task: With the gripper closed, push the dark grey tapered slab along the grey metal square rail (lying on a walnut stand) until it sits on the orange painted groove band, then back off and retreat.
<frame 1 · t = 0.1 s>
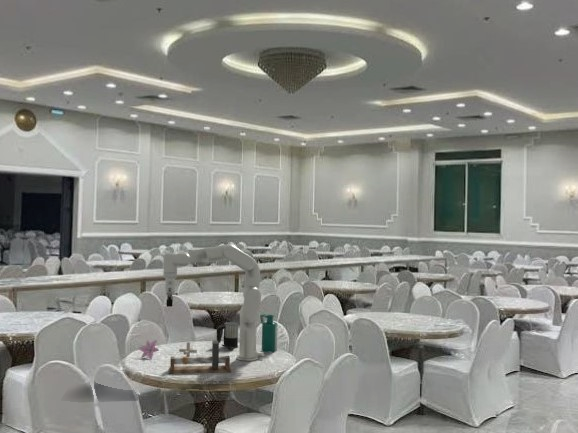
hand: (169, 305, 347), 31 cm above the table, fingers open, 9 cm apart
milk frother: (229, 348, 381), on the table
dark grey tapered slab: (215, 354, 328), point 8 cm above the table, slide at 0.0 cm
lily: (149, 357, 353), on the table
teal bottle: (268, 350, 377), on the table
pipe connector: (187, 360, 349), on the table
pipe stand: (199, 370, 326), on the table
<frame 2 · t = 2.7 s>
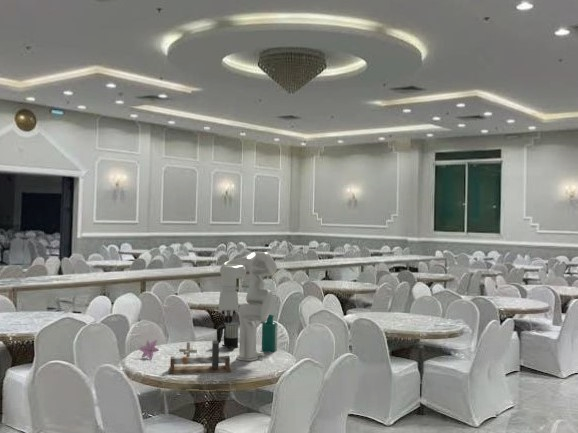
hand: (228, 323, 329), 25 cm above the table, fingers closed
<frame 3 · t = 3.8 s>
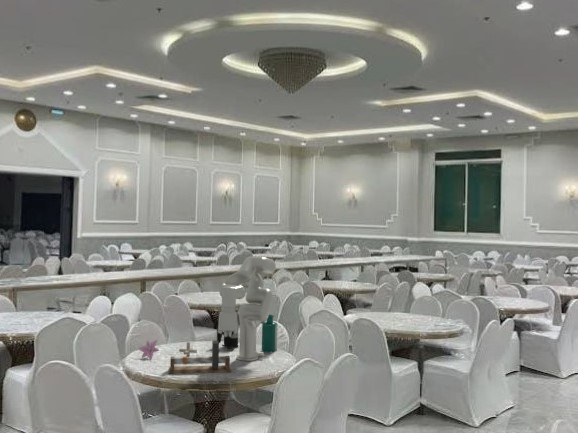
hand: (227, 344, 328), 14 cm above the table, fingers closed
nothing on the table moved.
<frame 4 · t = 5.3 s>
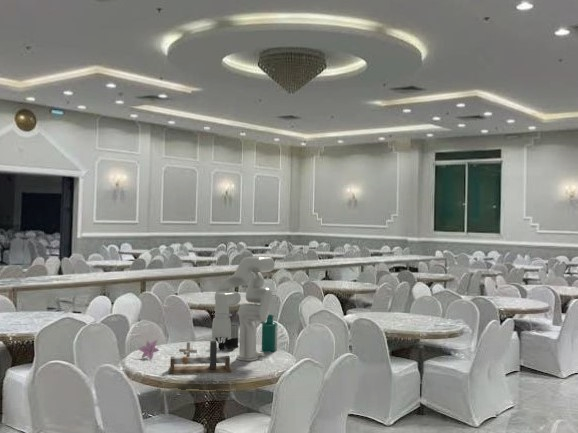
hand: (221, 350, 328), 11 cm above the table, fingers closed
dark grey tapered slab: (213, 354, 327), point 8 cm above the table, slide at 1.2 cm, touching gripper
everything else where it was.
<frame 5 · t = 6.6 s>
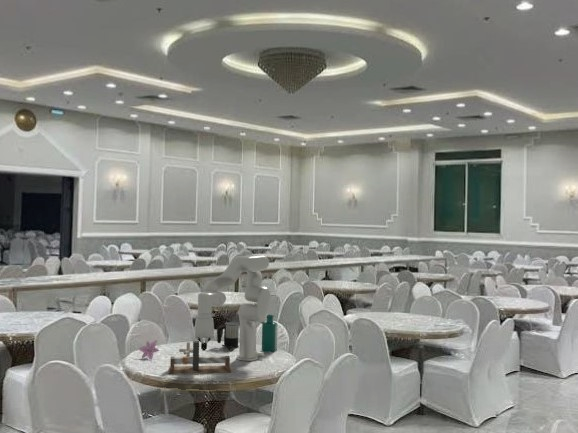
hand: (203, 350, 326), 11 cm above the table, fingers closed
dark grey tapered slab: (195, 355, 326), point 8 cm above the table, slide at 10.3 cm, touching gripper
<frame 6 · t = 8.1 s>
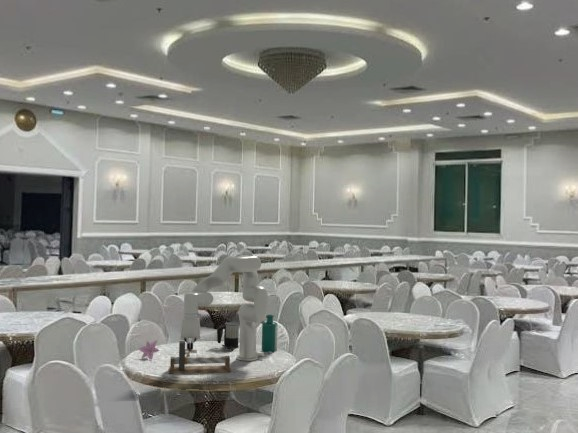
hand: (190, 350, 325), 11 cm above the table, fingers closed
dark grey tapered slab: (181, 355, 324), point 8 cm above the table, slide at 17.6 cm, touching gripper
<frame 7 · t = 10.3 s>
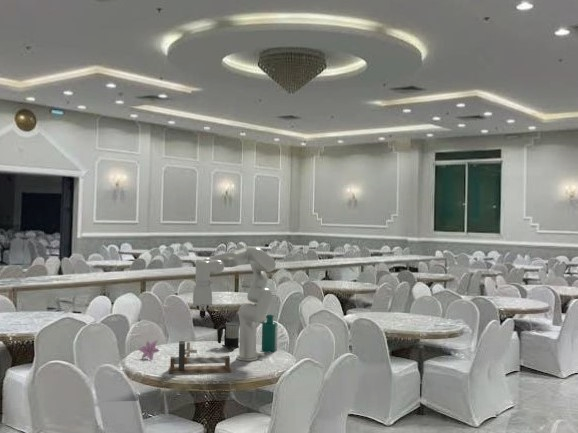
hand: (202, 317, 330), 27 cm above the table, fingers closed
dark grey tapered slab: (181, 355, 324), point 8 cm above the table, slide at 17.7 cm
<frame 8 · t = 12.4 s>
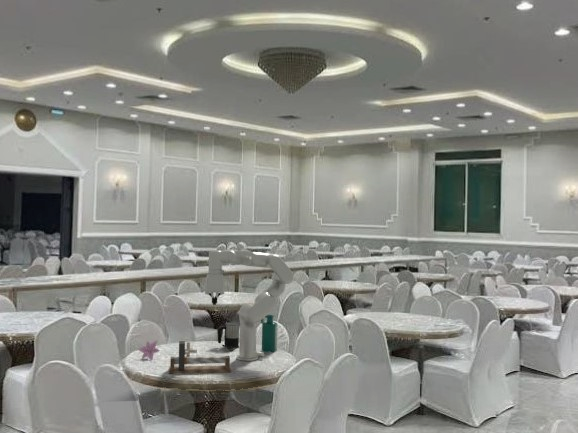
hand: (214, 304, 346), 32 cm above the table, fingers closed
at the end: dark grey tapered slab slide at 17.7 cm; dark grey tapered slab moved 17.7 cm from its start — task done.
